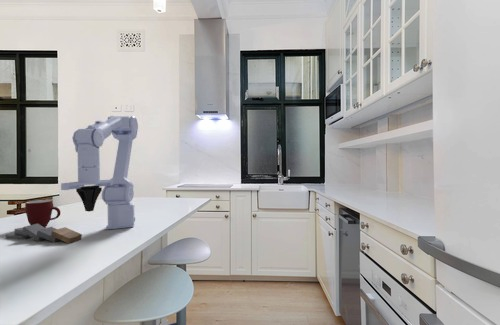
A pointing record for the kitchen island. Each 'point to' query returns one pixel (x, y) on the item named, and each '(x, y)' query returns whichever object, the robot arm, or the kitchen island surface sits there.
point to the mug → (40, 212)
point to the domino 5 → (66, 235)
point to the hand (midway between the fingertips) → (89, 210)
